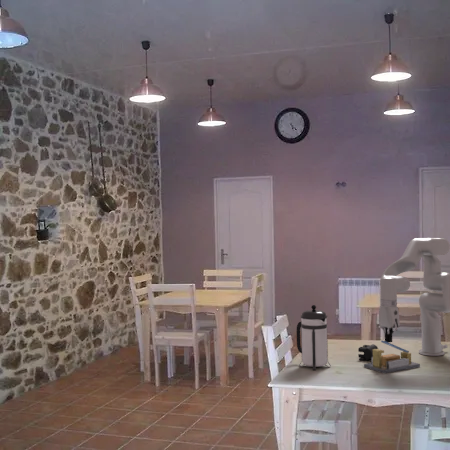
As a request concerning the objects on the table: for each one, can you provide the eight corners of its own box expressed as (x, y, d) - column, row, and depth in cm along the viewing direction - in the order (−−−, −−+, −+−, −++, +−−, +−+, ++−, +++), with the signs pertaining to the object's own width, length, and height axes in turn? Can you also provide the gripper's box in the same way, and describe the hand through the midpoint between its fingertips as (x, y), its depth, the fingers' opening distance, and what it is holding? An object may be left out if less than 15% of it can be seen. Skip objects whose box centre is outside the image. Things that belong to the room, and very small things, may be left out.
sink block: (398, 361, 308) (398, 342, 308) (419, 367, 296) (419, 347, 296) (364, 367, 298) (363, 348, 298) (384, 373, 286) (383, 353, 285)
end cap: (371, 362, 308) (371, 348, 308) (358, 360, 312) (357, 347, 312) (378, 358, 317) (378, 344, 317) (365, 356, 321) (365, 343, 321)
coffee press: (332, 363, 307) (331, 302, 306) (328, 371, 291) (327, 307, 291) (297, 362, 311) (296, 302, 311) (292, 369, 296) (290, 306, 295)
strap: (404, 352, 302) (404, 350, 302) (408, 353, 300) (409, 351, 300) (381, 342, 296) (381, 340, 296) (385, 343, 293) (386, 341, 293)
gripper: (405, 304, 291) (405, 343, 291) (383, 301, 304) (383, 338, 304) (393, 305, 287) (393, 345, 287) (371, 302, 301) (371, 340, 300)
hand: (388, 341), depth 296 cm, fingers closed
